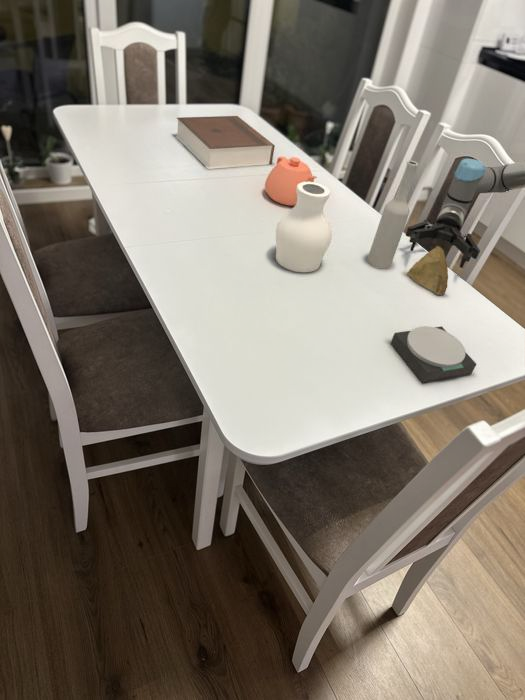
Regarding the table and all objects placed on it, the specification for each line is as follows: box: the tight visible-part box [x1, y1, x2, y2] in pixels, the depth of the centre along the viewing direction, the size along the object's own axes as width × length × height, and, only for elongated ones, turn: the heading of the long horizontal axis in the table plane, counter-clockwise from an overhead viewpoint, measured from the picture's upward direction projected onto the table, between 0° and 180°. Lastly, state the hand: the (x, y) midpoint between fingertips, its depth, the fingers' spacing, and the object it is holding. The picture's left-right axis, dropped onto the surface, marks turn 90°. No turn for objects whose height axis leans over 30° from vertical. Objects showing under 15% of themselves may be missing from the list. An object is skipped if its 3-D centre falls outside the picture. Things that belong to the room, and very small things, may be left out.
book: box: [175, 115, 276, 170], centre depth 189 cm, size 24×28×6 cm
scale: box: [390, 325, 478, 384], centre depth 118 cm, size 13×13×4 cm
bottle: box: [367, 160, 419, 270], centre depth 139 cm, size 7×7×28 cm
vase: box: [275, 181, 333, 274], centre depth 136 cm, size 14×14×20 cm
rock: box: [406, 245, 449, 296], centre depth 140 cm, size 11×9×10 cm
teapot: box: [264, 155, 318, 207], centre depth 165 cm, size 22×16×12 cm
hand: (437, 254), depth 143 cm, fingers open, 13 cm apart
